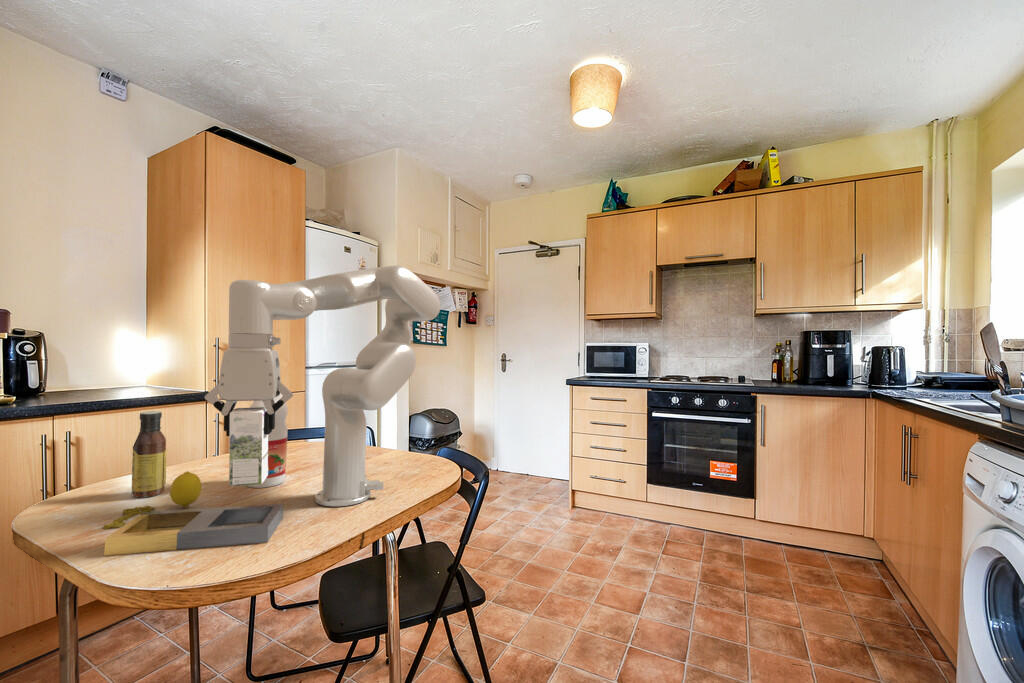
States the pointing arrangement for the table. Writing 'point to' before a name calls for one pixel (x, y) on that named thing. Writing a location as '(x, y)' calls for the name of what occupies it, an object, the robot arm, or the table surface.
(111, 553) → the tray
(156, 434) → the sauce bottle
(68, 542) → the table surface
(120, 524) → the key
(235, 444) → the syrup box
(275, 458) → the fruit juice
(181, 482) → the lemon
